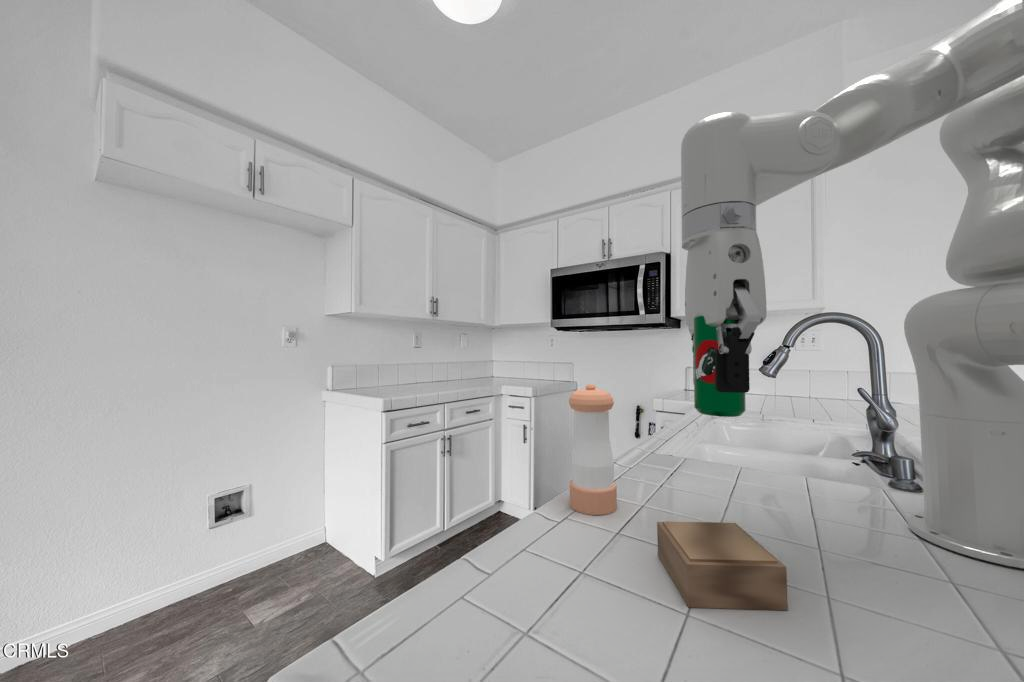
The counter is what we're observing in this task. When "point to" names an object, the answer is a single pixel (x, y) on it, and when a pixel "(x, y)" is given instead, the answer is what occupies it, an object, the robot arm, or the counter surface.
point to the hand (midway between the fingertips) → (719, 387)
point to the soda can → (711, 375)
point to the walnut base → (721, 566)
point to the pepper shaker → (592, 453)
